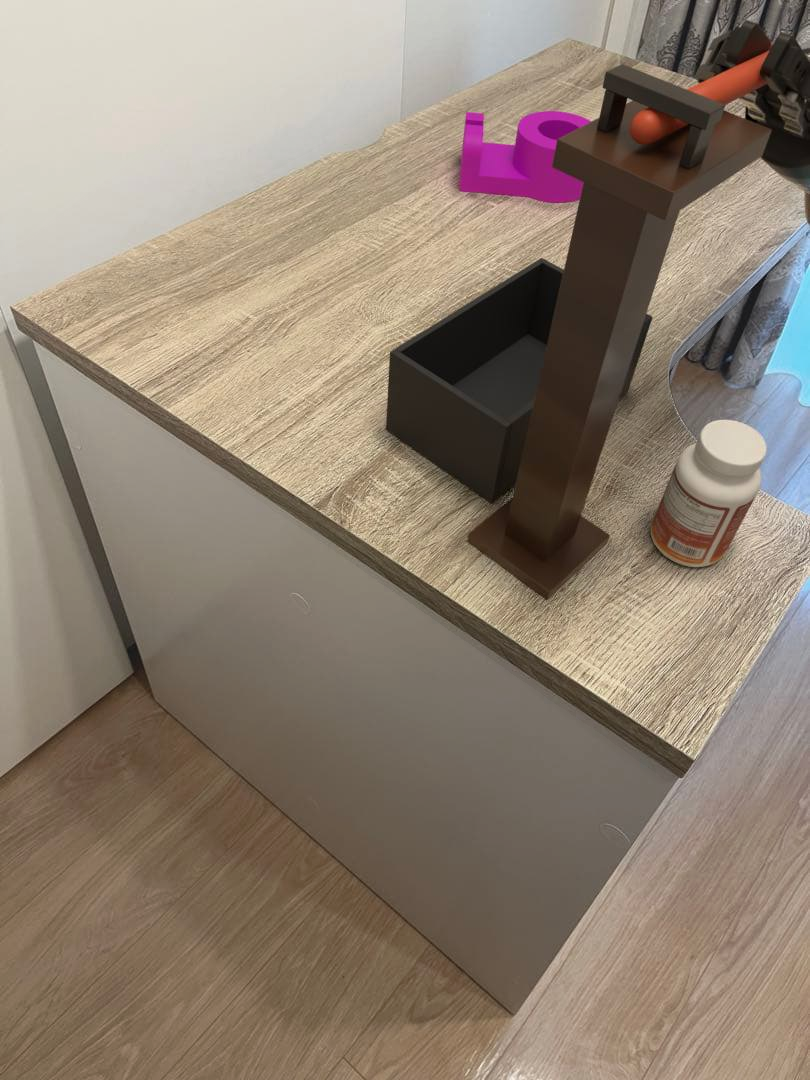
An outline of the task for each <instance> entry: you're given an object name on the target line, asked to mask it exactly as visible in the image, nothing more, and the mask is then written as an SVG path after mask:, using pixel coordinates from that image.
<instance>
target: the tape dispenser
mask: <svg viewBox="0 0 810 1080" xmlns="http://www.w3.org/2000/svg"><path fill="white" fill-rule="evenodd" d="M484 121H485V114H484V113H482V112H472V111H471V112H470V111H466V112H465V120H464V127H463V128H464V129H463V137H462V138H463V139H462V147H461V157H460V171H459V186H458V187H459V188H458V191H459V192H470V193H480V194H489V195H490V194H491V195H500V196H501V195H502V196H513V197H524V198H531V199H533V200H537V201H541V202H545V203H553V204H555V203H558V204H559V203H560V204H562V203H563V204H564V203H569V202H574V201H578V200H580V196H581V192H582V188H583V183H584V182H582V181H580V180H578V179H576V178H574V177H572V176H569V175H567V174H565V173H563V172H561V171H559V170H557V169H555V168H553V167H552V164H553V158H554V153H555V148H556V143H557V139H559V138H561V137H563V136H565V135H567V134H569V133H570V132H572V131H574V130H576V129H578V128H580V127H582V126H584V125H586V124H588V123H590V122H592V121H593V120H592V121H591V120H590V119H588V118H586V117H583V116H581V115H578V114H575V113H570V112H566V111H559V110H543V111H536V112H532V113H529V114H527V115H525V116H523V117H522V118H521V119H519V122H518V124H517V130H516V136H515V141H514V144H507V143H495V142H484V130H485V129H484V128H485V127H484V124H485V123H484Z"/></svg>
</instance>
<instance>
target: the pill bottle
mask: <svg viewBox="0 0 810 1080" xmlns="http://www.w3.org/2000/svg"><path fill="white" fill-rule="evenodd" d="M767 449H768V447H767V443H766V440H765V438H763V436H762V434H761V433H760V432H758V431H757V430H756V429H755V428H754V427H752V426H750V425H748V424H746V423H744V422H740V421H737V420H732V419H717V420H713V421H711V422H709V423H707V424H706V425H705V426H704V427H703V428H702V430H701V431H700V433H699V435H698V438H697V440H696V442H694V443H692V444H691V445H689V446H687V447H686V448H685V449H683V450H682V452H681V453H680V454H679V457H678V459H677V461H676V462H675V466H674V468H673V471H672V473H671V475H670V478H669V480H668V482H667V485H666V487H665V490H664V492H663V494H662V496H661V499H660V501H659V504H658V507H657V509H656V512H655V513H654V515H653V516H654V517H653V519H652V522H651V525H650V536H651V539H652V542H653V544H654V546H655V547H656V549H658V550H659V552H660V553H661V554H662V555H663V556H665V558H667V559H668V560H670V561H672V562H674V563H676V564H679V565H681V566H685V567H689V568H690V567H691V568H703V567H707V566H711V565H713V564H715V563H716V562H718V561H720V560H721V559H722V558H723V557H724V556H725V554H726V552H727V551H728V550H729V547H730V546H731V544H732V543H733V540H734V538H735V536H736V534H737V532H738V530H739V528H740V527H741V525H742V523H743V521H744V519H745V517H746V516H747V513H748V511H749V509H750V508H751V506H752V504H753V503H754V500H755V498H756V497H757V495H758V493H759V490H760V488H761V485H762V472H761V466H762V463H763V461H764V459H765V458H766V455H767V451H768V450H767Z"/></svg>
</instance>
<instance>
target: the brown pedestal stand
mask: <svg viewBox="0 0 810 1080" xmlns="http://www.w3.org/2000/svg"><path fill="white" fill-rule="evenodd" d="M602 89H604V95H603V100H602V103H601V108H600V113H599V117H598V118H596V119H594V120H592V122H590V123H588V124H586V125H584V126H582V127H580V128H578V129H576V130H574V131H572V132H570V133H569V134H567V135H565V136H563V137H561V138H559V139H557V143H556V148H555V153H554V158H553V164H552V167H553V168H555V169H557V170H559V171H561V172H563V173H565V174H567V175H569V176H572V177H574V178H576V179H578V180H580V181H582V182H584V183H583V188H582V192H581V196H580V199H579V202H578V206H577V210H576V215H575V218H574V219H575V220H574V224H573V228H572V232H571V237H570V241H569V245H568V246H569V247H568V250H567V253H566V259H565V262H564V263H565V264H564V268H563V269H564V272H563V276H562V281H561V285H560V290H559V294H558V299H557V303H556V307H555V312H554V316H553V321H552V325H551V330H550V334H549V339H548V343H547V347H546V352H545V356H544V361H543V365H542V370H541V374H540V378H539V383H538V387H537V392H536V396H535V401H534V405H533V410H532V414H531V418H530V423H529V427H528V432H527V436H526V441H525V445H524V450H523V454H522V458H521V463H520V467H519V472H518V476H517V481H516V484H515V485H514V490H513V494H512V497H511V498H510V499H508V501H506V502H505V503H504V504H503V505H502V506H500V507H498V509H497V510H495V511H494V512H493V513H492V514H490V515H489V516H487V518H485V519H484V520H483V521H482V522H481V523H479V524H478V525H477V526H476V527H475V528H473V530H471V531H470V532H469V533H468V535H467V542H468V543H469V544H471V545H472V546H473V547H474V548H476V549H477V550H479V551H480V552H481V553H483V554H484V555H486V556H487V557H488V558H490V559H491V560H492V561H494V562H495V563H496V564H498V565H499V566H500V567H502V568H503V569H505V570H506V572H508V573H510V574H512V575H513V576H514V577H516V579H518V580H519V581H521V582H522V583H524V584H525V585H526V586H528V587H529V588H530V589H532V590H533V591H535V592H536V593H537V594H539V595H540V596H542V597H543V598H544V599H545V600H549V599H550V598H551V597H552V596H553V595H554V594H555V593H556V592H557V591H558V590H559V589H560V588H561V587H562V586H563V585H564V584H566V583H567V582H568V581H569V580H570V579H571V578H572V577H573V576H574V575H575V574H576V573H577V572H579V570H580V569H581V568H582V567H584V565H586V563H588V562H589V561H590V560H591V559H592V558H593V557H594V556H595V555H596V554H597V553H598V552H599V551H601V549H602V548H603V547H604V546H605V545H607V544H608V541H609V539H610V534H609V533H607V532H606V531H604V530H603V529H602V528H601V527H599V526H598V525H595V524H594V523H593V522H591V521H590V520H588V519H586V518H585V517H583V516H582V514H583V510H584V508H585V504H586V502H587V498H588V497H589V492H590V490H591V486H592V483H593V480H594V477H595V473H596V471H597V469H598V468H597V467H598V464H599V461H600V458H601V455H602V453H603V449H604V445H605V443H606V440H607V436H608V433H609V431H610V428H611V424H612V421H613V418H614V415H615V412H616V408H617V406H618V403H619V401H620V399H619V397H620V394H621V390H622V387H623V384H624V381H625V378H626V375H627V372H628V369H629V366H630V363H631V360H632V356H633V353H634V350H635V347H636V344H637V341H638V338H639V335H640V332H641V329H642V325H643V322H644V319H645V316H646V314H648V310H649V307H650V303H651V300H652V297H653V294H654V291H655V288H656V285H657V282H658V279H659V277H660V273H661V269H662V266H663V263H664V260H665V257H666V254H667V251H668V248H669V245H670V241H671V238H672V235H673V233H674V229H675V227H676V223H677V220H678V218H679V217H678V216H679V214H680V211H682V210H683V209H685V208H686V207H687V206H689V205H691V204H692V203H694V202H695V201H697V200H698V199H700V198H702V197H703V196H704V195H705V194H707V193H709V192H710V191H712V190H714V189H716V188H717V187H718V186H720V185H721V184H722V183H724V182H725V181H727V180H728V179H729V178H731V177H732V176H734V175H736V174H737V173H739V172H741V171H742V170H744V169H745V168H747V167H749V166H750V165H751V164H752V163H754V162H756V161H757V160H759V159H761V158H760V157H761V156H762V155H763V152H764V149H765V147H766V144H767V141H768V139H769V136H770V134H771V131H772V129H769V128H767V127H764V126H762V125H759V124H757V123H754V122H752V121H749V120H747V119H745V117H741V116H740V115H737V114H734V113H732V112H729V111H727V110H725V108H726V105H724V104H722V103H719V102H717V101H714V100H712V99H709V98H707V97H704V96H702V95H699V94H697V93H694V92H692V91H689V90H687V89H688V88H684V87H681V86H679V85H676V84H674V83H672V82H669V81H667V80H664V79H661V78H659V77H656V76H654V75H652V74H649V73H646V72H644V71H642V70H639V69H636V68H634V67H631V66H629V65H626V64H624V63H621V64H619V65H617V66H615V67H613V68H611V69H608V70H606V71H605V73H604V78H603V83H602ZM628 100H631V101H628ZM649 107H650V108H652V109H655V110H657V111H660V112H662V113H664V114H667V115H669V116H672V117H674V118H676V119H679V120H681V121H684V122H686V123H688V125H686V126H684V127H682V128H680V129H678V130H676V131H674V132H672V133H670V134H669V135H667V136H665V137H663V138H661V139H659V140H657V141H655V142H653V143H651V144H647V145H642V144H638V143H637V142H635V141H634V140H633V138H632V137H631V134H630V124H631V121H632V119H633V118H634V117H635V115H636V114H637V113H639V112H640V111H642V110H644V109H647V108H649Z"/></svg>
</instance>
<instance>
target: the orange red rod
mask: <svg viewBox="0 0 810 1080" xmlns="http://www.w3.org/2000/svg"><path fill="white" fill-rule="evenodd" d="M769 51H770V50H769ZM769 51H767V52H765V53H763V54H761V55H758V56H756V57H754V58H752V59H750V60H748V61H746V62H744V63H742V64H739V65H737V66H735V67H733V68H731V69H729V70H727V71H725V72H723V73H720V74H718V75H716V76H714V77H712V78H710V79H708V80H706V81H704V82H701V83H697V84H695V85H693V86H691V87H689V88H686V89H687V90H689V91H692V92H694V93H697V94H699V95H702V96H704V97H707V98H709V99H712V100H714V101H717V102H719V103H722V104H724V105H725V106H727V105H728V104H731V103H733V102H735V101H736V100H739V99H738V98H740V97H742V96H744V95H746V94H748V93H750V92H752V91H754V90H756V89H758V88H760V87H762V86H764V85H765V84H767V83H766V81H765V80H764V78H763V77H762V76H761V75H760V69H761V66H762V64H763V62H764V60H765V58H766V57H767V55H768V53H769ZM686 125H688V123H686V122H684V121H681V120H679V119H676V118H674V117H672V116H669V115H667V114H664V113H662V112H660V111H657V110H655V109H652V108H650V107H649V108H647V109H644V110H642V111H640V112H639V113H637V114H636V115H635V117H634V118H633V119H632V121H631V124H630V134H631V137H632V138H633V140H634V141H635V142H637V143H638V144H642V145H647V144H651V143H653V142H655V141H657V140H659V139H661V138H663V137H665V136H667V135H669V134H670V133H672V132H674V131H676V130H678V129H680V128H682V127H684V126H686Z"/></svg>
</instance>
